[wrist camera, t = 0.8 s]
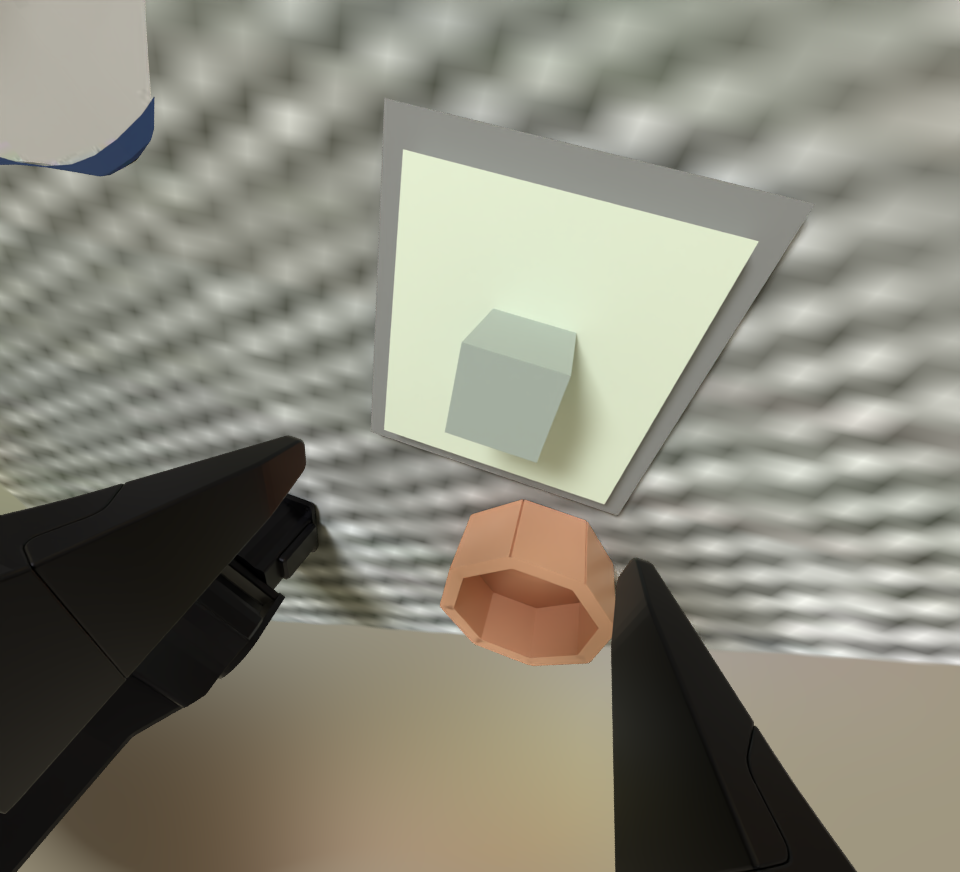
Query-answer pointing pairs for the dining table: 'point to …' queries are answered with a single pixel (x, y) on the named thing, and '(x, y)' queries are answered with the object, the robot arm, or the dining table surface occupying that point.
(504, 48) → the dining table surface
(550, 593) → the bowl
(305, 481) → the dining table surface
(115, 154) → the sun hat
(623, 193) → the grey square panel
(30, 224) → the dining table surface
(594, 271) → the cover
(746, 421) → the dining table surface
